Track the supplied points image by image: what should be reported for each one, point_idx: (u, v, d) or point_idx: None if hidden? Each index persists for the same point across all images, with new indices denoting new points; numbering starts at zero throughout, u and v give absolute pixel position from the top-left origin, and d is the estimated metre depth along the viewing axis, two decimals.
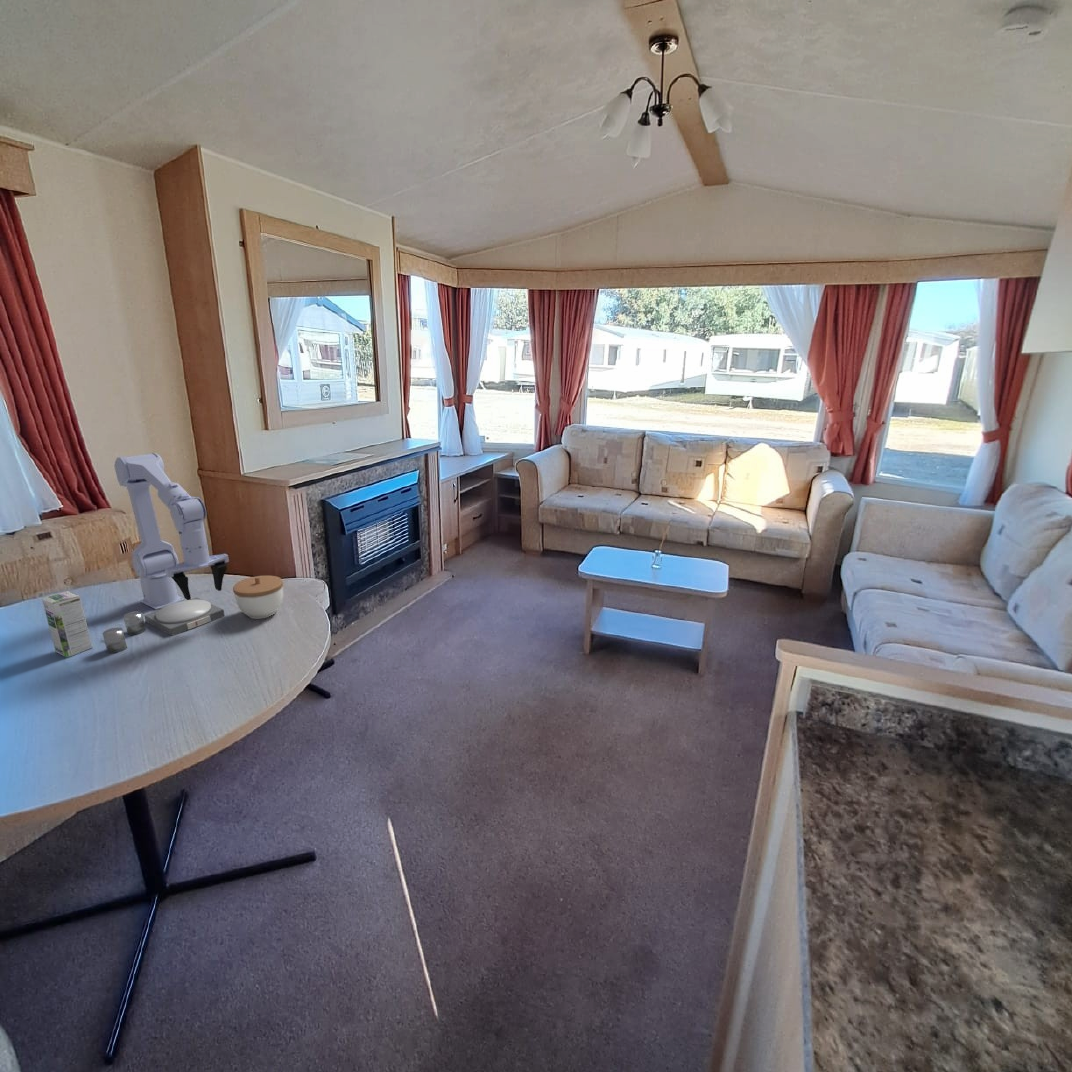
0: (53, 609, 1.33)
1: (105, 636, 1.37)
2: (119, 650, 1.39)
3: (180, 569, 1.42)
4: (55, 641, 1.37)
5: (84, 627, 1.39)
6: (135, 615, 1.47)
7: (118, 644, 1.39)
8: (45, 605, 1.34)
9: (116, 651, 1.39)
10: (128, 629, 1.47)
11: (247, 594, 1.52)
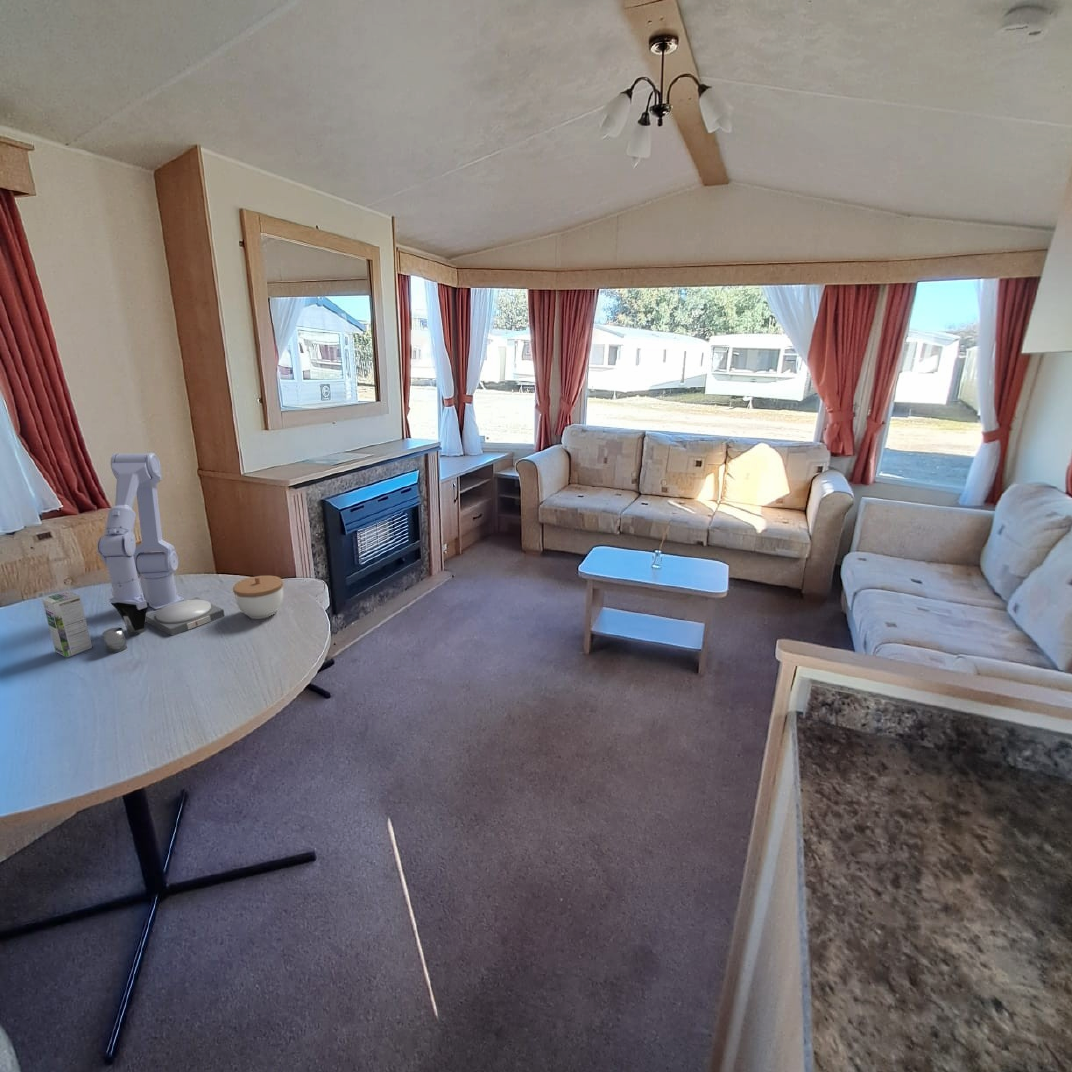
0: (53, 609, 1.33)
1: (105, 636, 1.37)
2: (119, 650, 1.39)
3: (113, 593, 1.47)
4: (55, 641, 1.37)
5: (84, 627, 1.39)
6: None
7: (118, 644, 1.39)
8: (45, 605, 1.34)
9: (116, 651, 1.39)
10: (128, 629, 1.47)
11: (247, 594, 1.52)
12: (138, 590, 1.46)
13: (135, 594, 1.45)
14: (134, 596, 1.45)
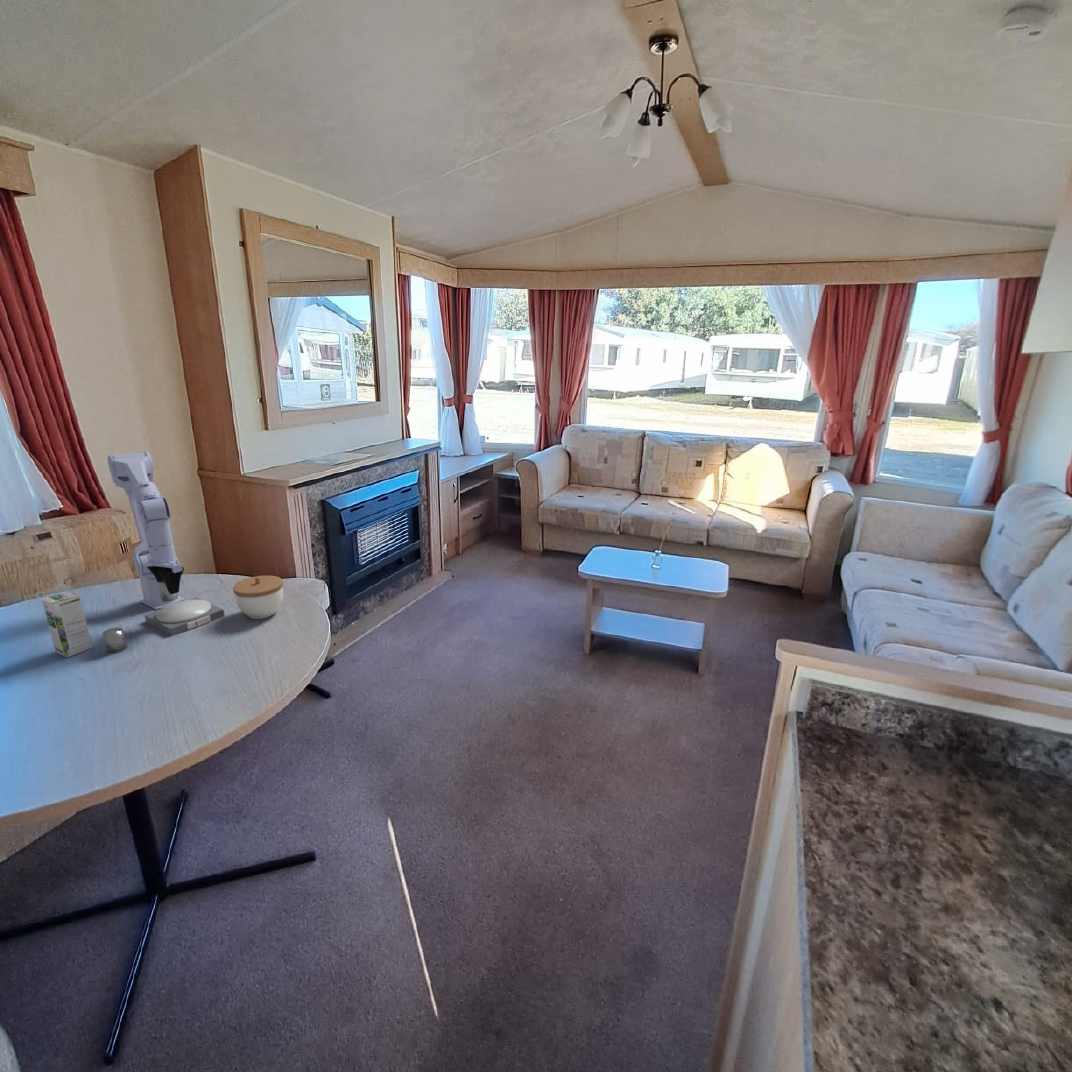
0: (53, 609, 1.33)
1: (105, 636, 1.37)
2: (119, 650, 1.39)
3: (149, 558, 1.51)
4: (55, 641, 1.37)
5: (84, 627, 1.39)
6: None
7: (118, 644, 1.39)
8: (45, 605, 1.34)
9: (116, 651, 1.39)
10: (161, 595, 1.51)
11: (247, 594, 1.52)
12: (173, 554, 1.50)
13: (171, 558, 1.49)
14: (170, 560, 1.49)
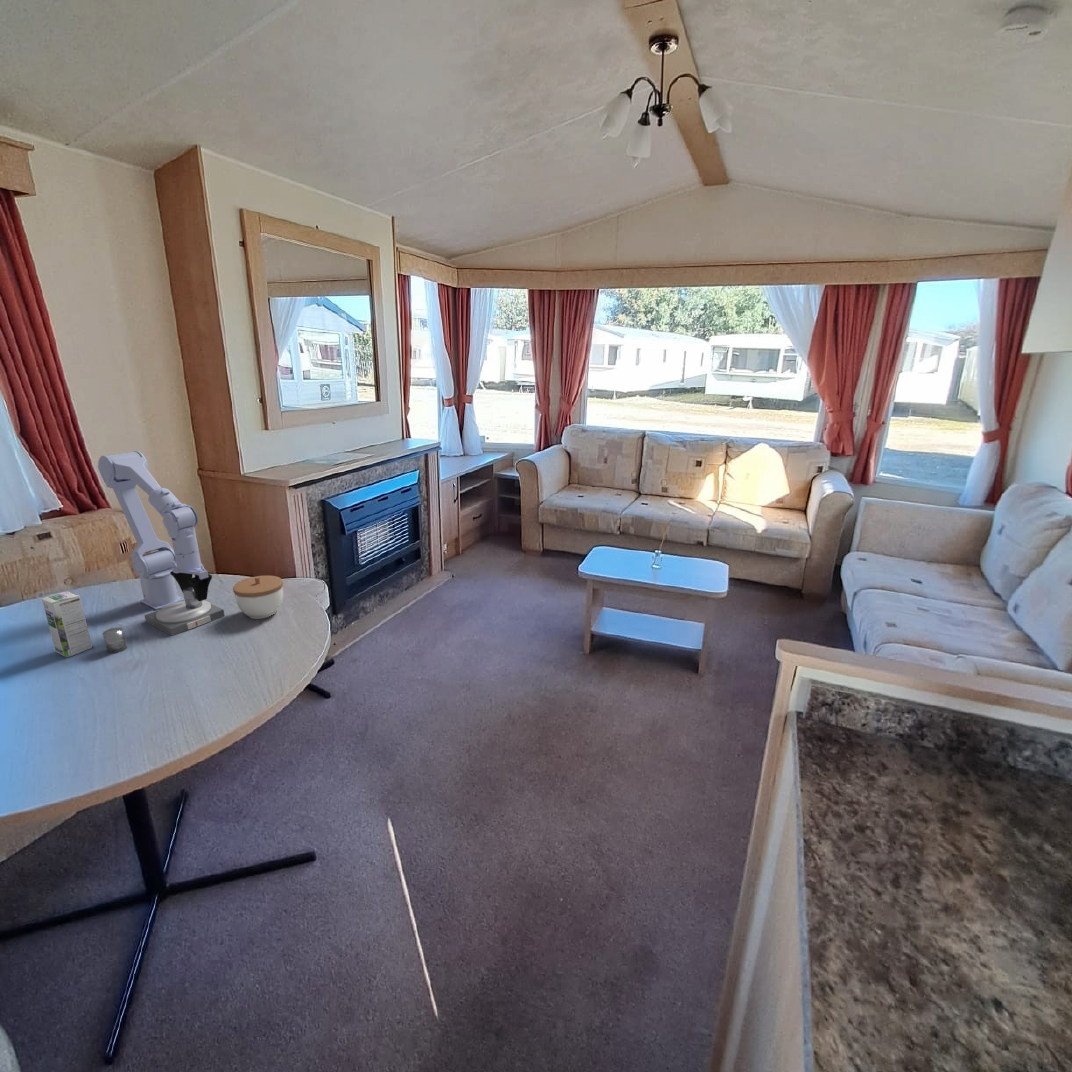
0: (53, 609, 1.33)
1: (105, 636, 1.37)
2: (119, 650, 1.39)
3: (174, 565, 1.56)
4: (55, 641, 1.37)
5: (84, 627, 1.39)
6: (193, 590, 1.56)
7: (118, 644, 1.39)
8: (45, 605, 1.34)
9: (116, 651, 1.39)
10: (186, 603, 1.56)
11: (247, 594, 1.52)
12: (199, 561, 1.55)
13: (196, 565, 1.54)
14: (195, 567, 1.53)
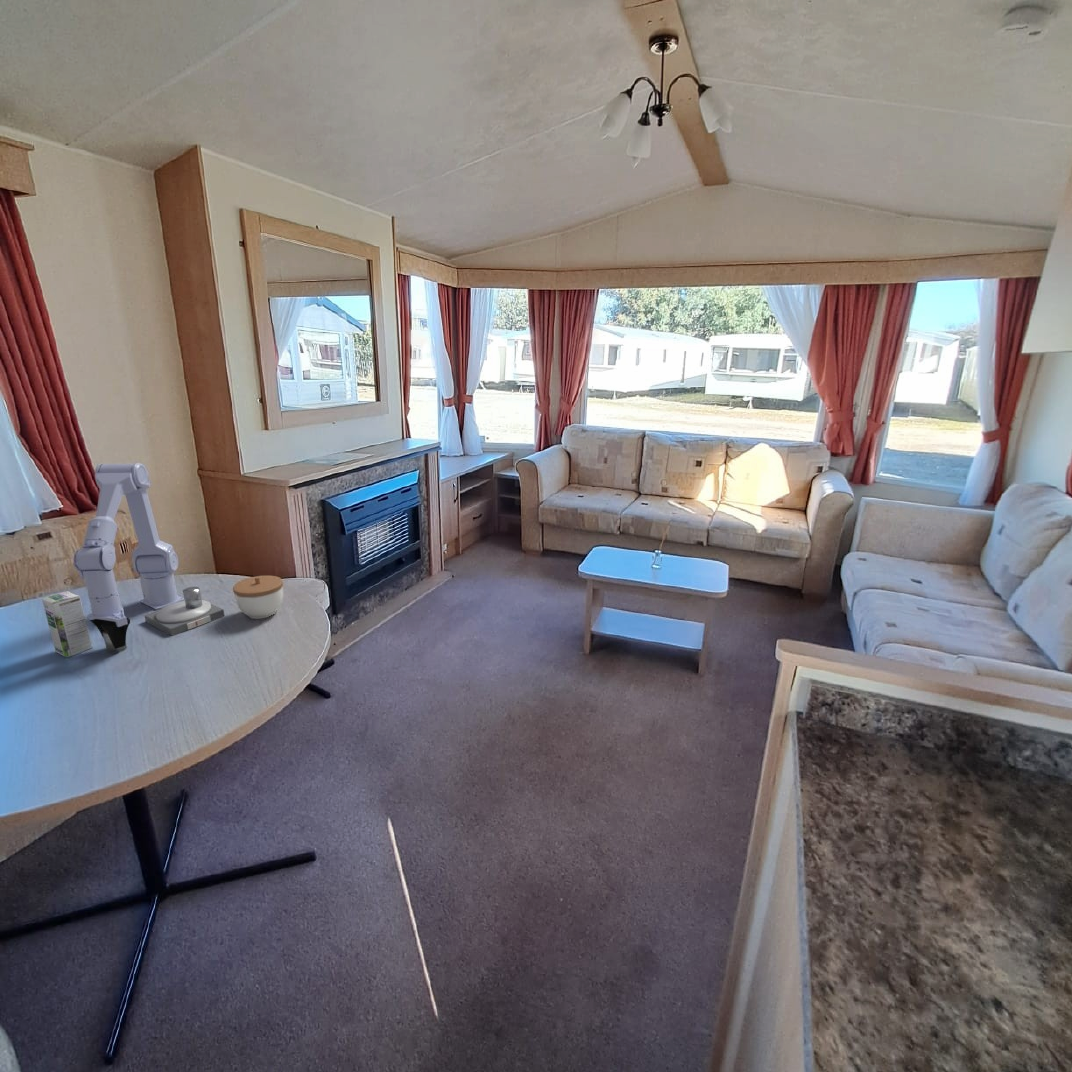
0: (53, 609, 1.33)
1: (105, 636, 1.37)
2: (119, 650, 1.39)
3: None
4: (55, 641, 1.37)
5: (84, 627, 1.39)
6: (193, 590, 1.56)
7: None
8: (45, 605, 1.34)
9: (116, 651, 1.39)
10: (186, 603, 1.56)
11: (247, 594, 1.52)
12: (118, 606, 1.37)
13: (115, 610, 1.36)
14: (114, 612, 1.36)
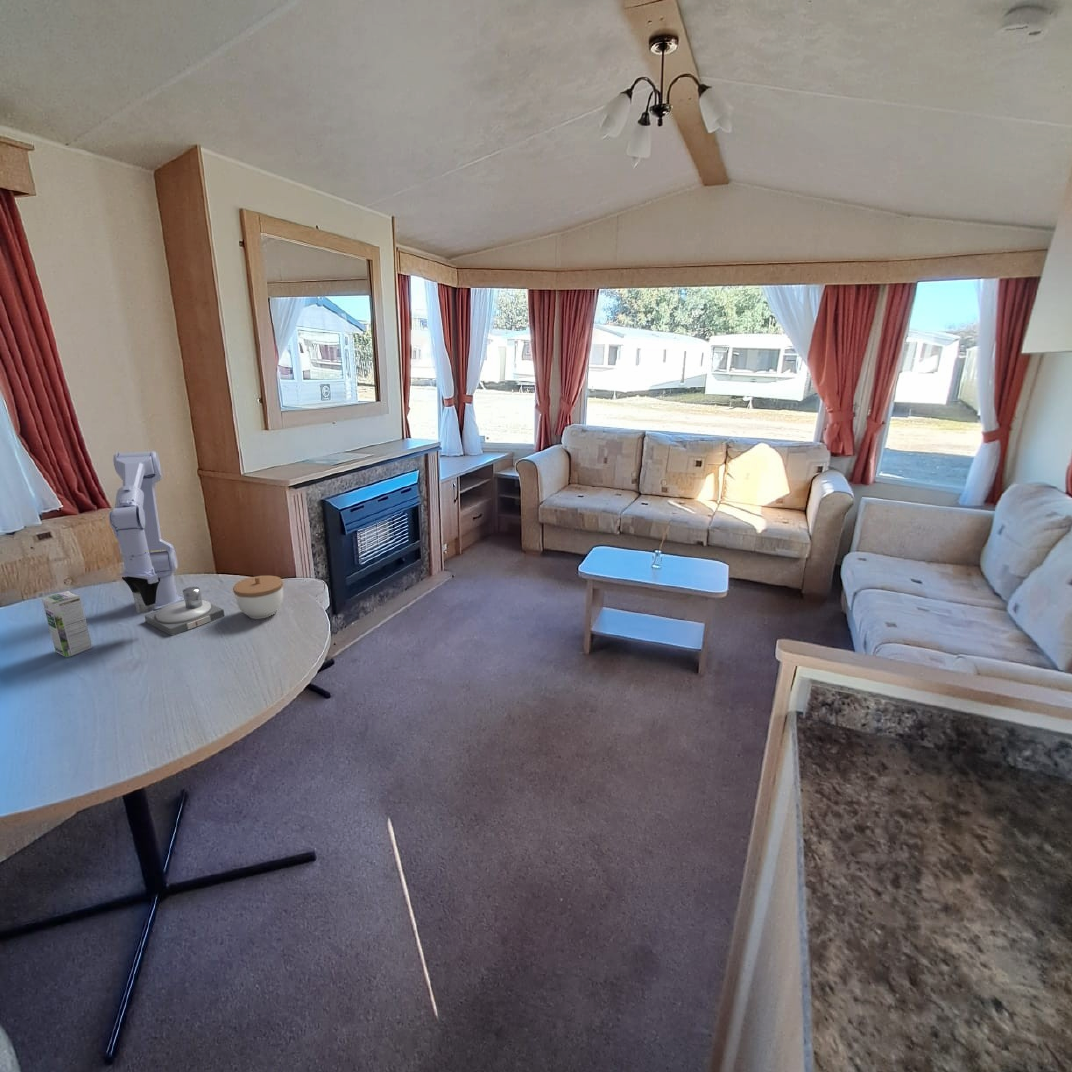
0: (53, 609, 1.33)
1: (135, 596, 1.43)
2: (149, 610, 1.45)
3: None
4: (55, 641, 1.37)
5: (84, 627, 1.39)
6: (193, 590, 1.56)
7: None
8: (45, 605, 1.34)
9: (146, 611, 1.45)
10: (186, 603, 1.56)
11: (247, 594, 1.52)
12: (149, 564, 1.43)
13: (146, 568, 1.42)
14: (145, 570, 1.42)
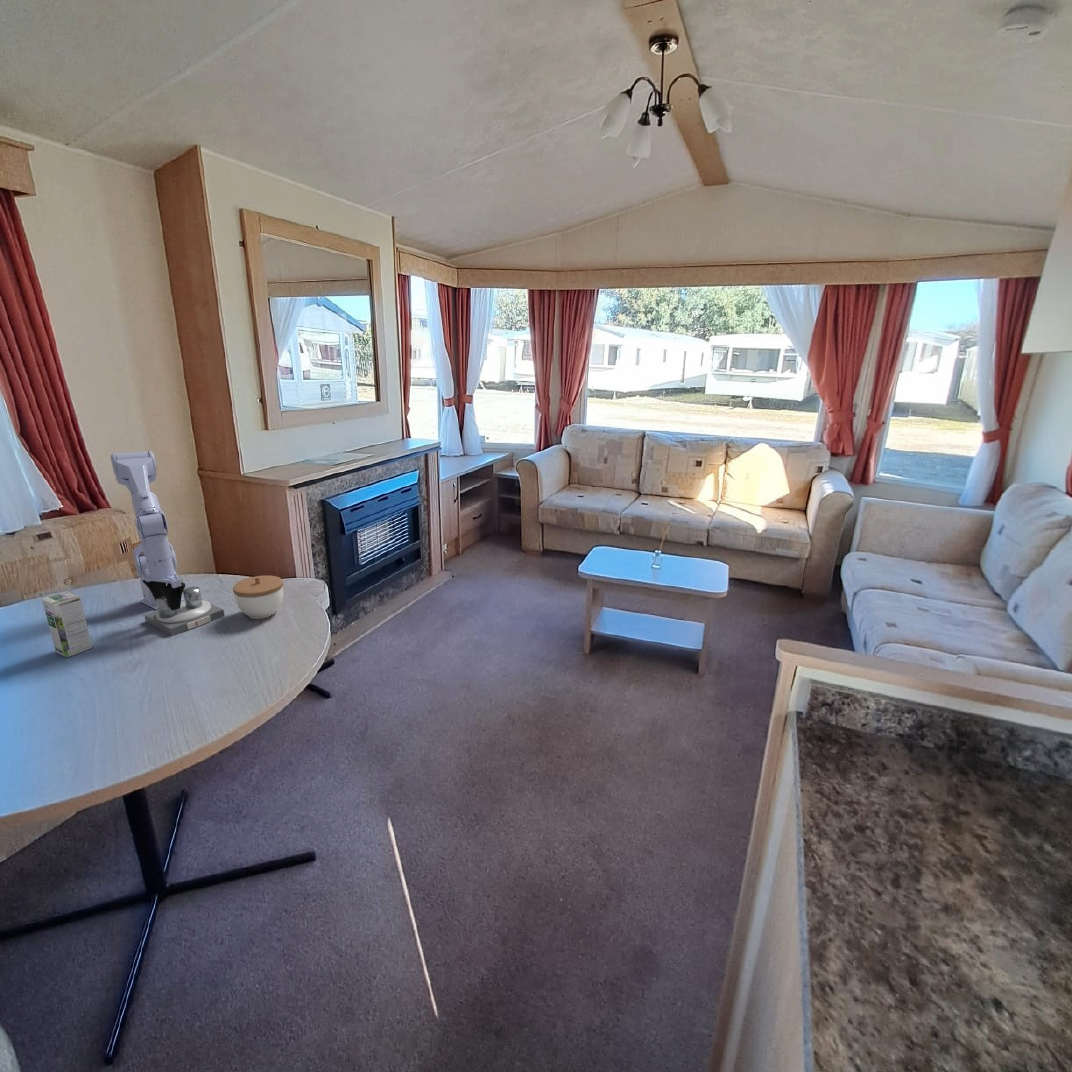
0: (53, 609, 1.33)
1: (159, 602, 1.49)
2: (171, 615, 1.51)
3: (147, 573, 1.50)
4: (55, 641, 1.37)
5: (84, 627, 1.39)
6: (193, 590, 1.56)
7: None
8: (45, 605, 1.34)
9: (169, 616, 1.51)
10: (186, 603, 1.56)
11: (247, 594, 1.52)
12: (172, 569, 1.49)
13: (169, 573, 1.48)
14: (168, 575, 1.48)
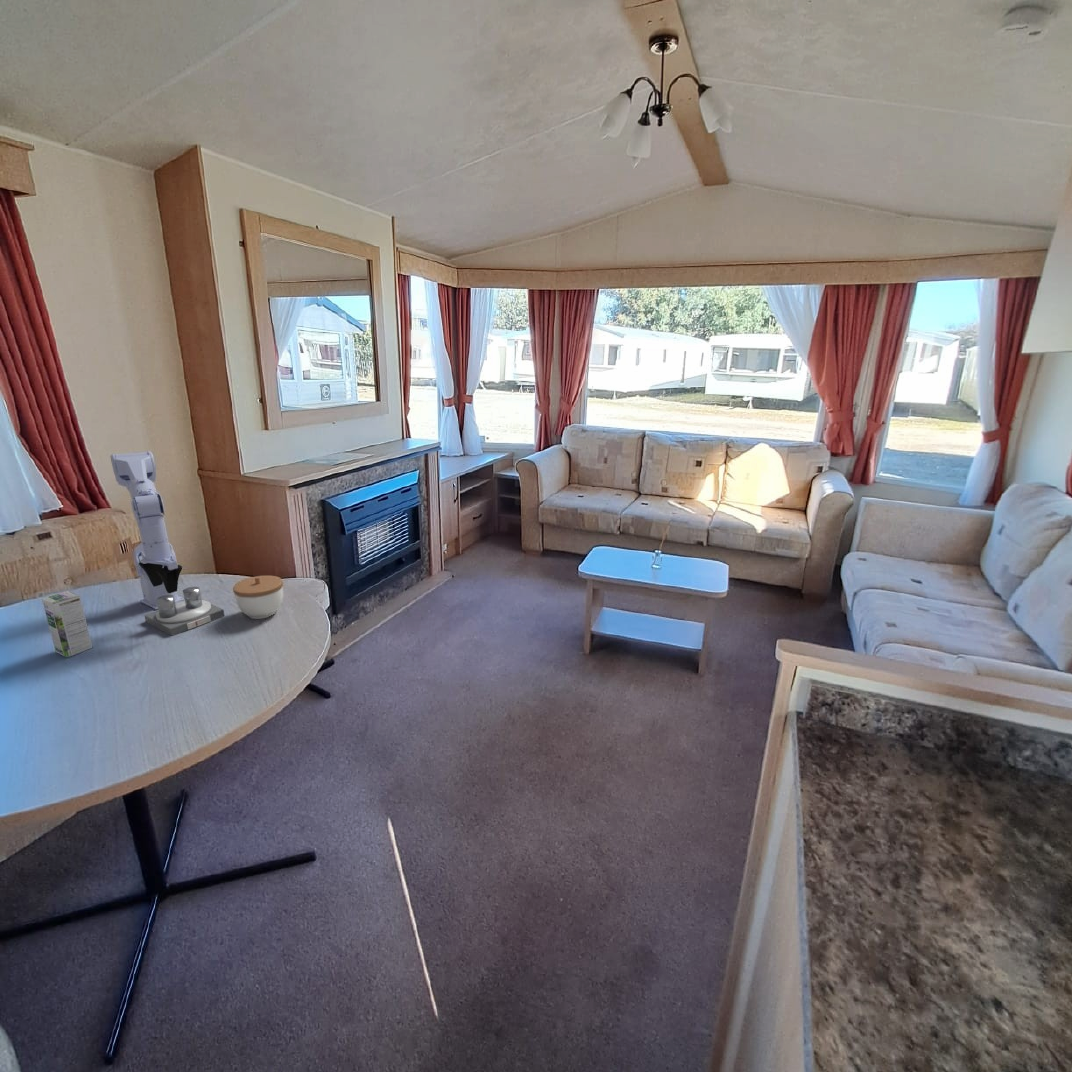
0: (53, 609, 1.33)
1: (159, 602, 1.49)
2: (171, 615, 1.51)
3: (143, 555, 1.49)
4: (55, 641, 1.37)
5: (84, 627, 1.39)
6: (193, 590, 1.56)
7: (171, 609, 1.51)
8: (45, 605, 1.34)
9: (169, 616, 1.51)
10: (186, 603, 1.56)
11: (247, 594, 1.52)
12: (168, 552, 1.47)
13: (166, 555, 1.47)
14: (164, 557, 1.46)
